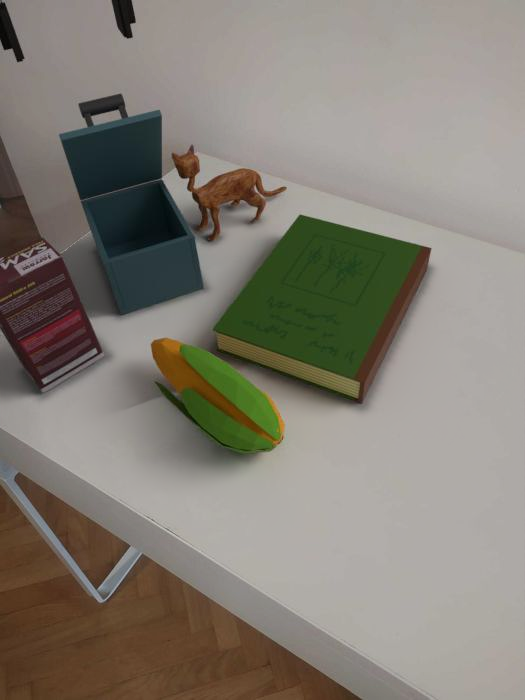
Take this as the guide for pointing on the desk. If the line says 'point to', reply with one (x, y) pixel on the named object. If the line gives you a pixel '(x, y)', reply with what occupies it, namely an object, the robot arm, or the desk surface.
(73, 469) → the desk surface
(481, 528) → the desk surface
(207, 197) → the cat figurine
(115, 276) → the box
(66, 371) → the supplement box
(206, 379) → the corn
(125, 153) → the lid
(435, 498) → the desk surface
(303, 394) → the desk surface
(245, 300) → the book
